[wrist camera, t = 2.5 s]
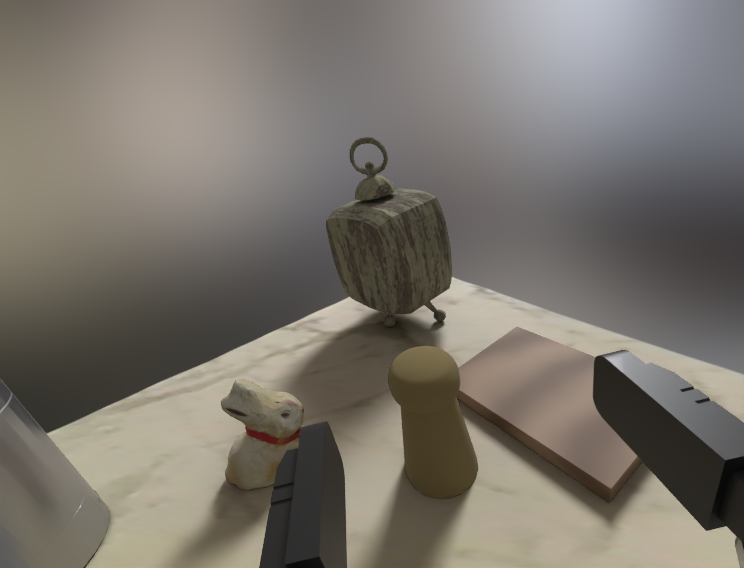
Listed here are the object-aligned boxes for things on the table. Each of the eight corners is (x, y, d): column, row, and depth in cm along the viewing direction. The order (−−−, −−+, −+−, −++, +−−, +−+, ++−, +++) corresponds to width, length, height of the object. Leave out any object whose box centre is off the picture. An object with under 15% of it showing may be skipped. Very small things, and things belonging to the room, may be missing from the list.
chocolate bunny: (299, 495, 30) (258, 407, 26) (222, 489, 32) (173, 407, 28) (321, 440, 35) (290, 359, 31) (253, 438, 37) (215, 362, 33)
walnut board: (685, 407, 30) (688, 393, 29) (609, 502, 24) (610, 488, 24) (517, 337, 42) (516, 326, 42) (444, 390, 37) (442, 378, 37)
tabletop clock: (459, 318, 49) (433, 122, 38) (413, 353, 44) (369, 140, 34) (390, 294, 60) (355, 136, 49) (347, 319, 55) (299, 152, 45)
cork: (460, 512, 26) (440, 399, 21) (391, 478, 30) (362, 376, 25) (488, 448, 30) (476, 342, 26) (425, 425, 34) (404, 329, 29)
